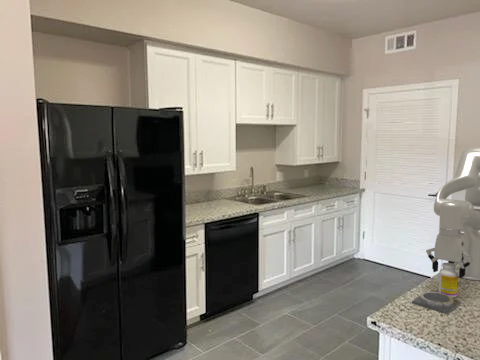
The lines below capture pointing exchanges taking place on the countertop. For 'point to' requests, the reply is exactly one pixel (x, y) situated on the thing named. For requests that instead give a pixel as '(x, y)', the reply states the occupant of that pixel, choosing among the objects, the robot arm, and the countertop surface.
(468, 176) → the robot arm
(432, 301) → the ring plate
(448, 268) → the supplement bottle
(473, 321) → the countertop surface
